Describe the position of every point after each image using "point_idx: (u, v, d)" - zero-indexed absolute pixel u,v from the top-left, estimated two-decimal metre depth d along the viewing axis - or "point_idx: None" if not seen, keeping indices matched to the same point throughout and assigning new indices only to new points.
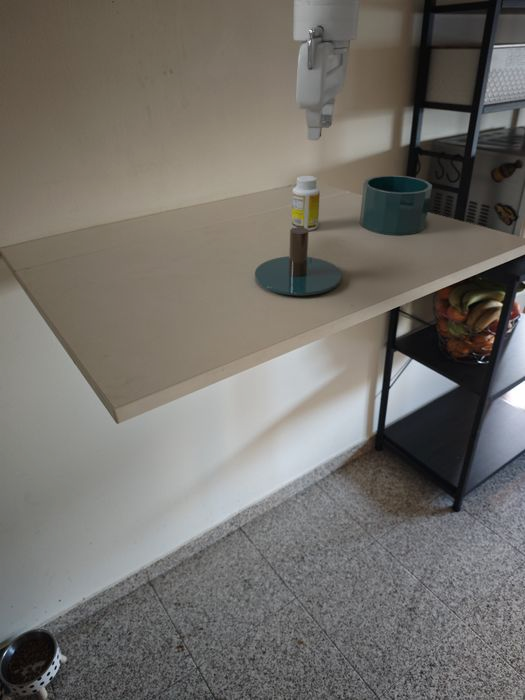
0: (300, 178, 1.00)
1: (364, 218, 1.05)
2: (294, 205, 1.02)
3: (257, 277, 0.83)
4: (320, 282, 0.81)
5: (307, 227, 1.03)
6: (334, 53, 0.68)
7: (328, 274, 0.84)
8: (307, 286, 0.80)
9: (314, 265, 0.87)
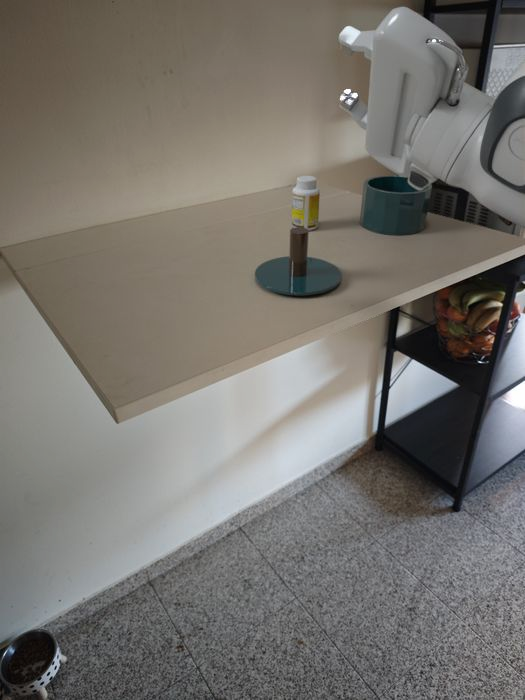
0: (300, 178, 1.00)
1: (364, 218, 1.05)
2: (294, 205, 1.02)
3: (257, 277, 0.83)
4: (320, 282, 0.81)
5: (307, 227, 1.03)
6: (415, 114, 0.51)
7: (328, 274, 0.84)
8: (307, 286, 0.80)
9: (314, 265, 0.87)
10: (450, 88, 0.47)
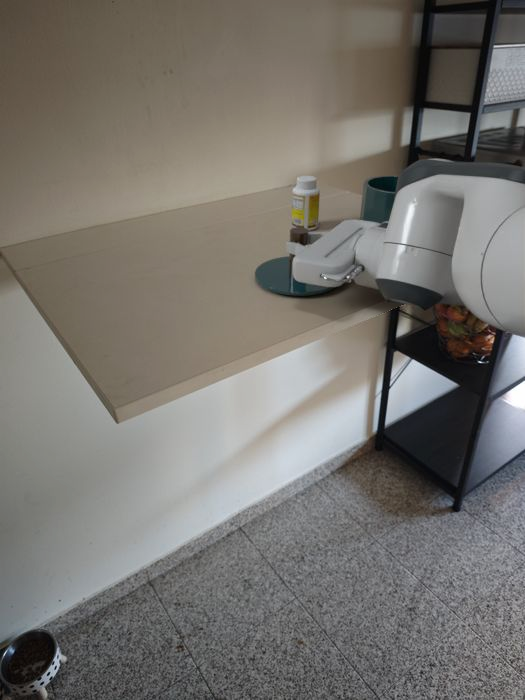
0: (300, 178, 1.00)
1: (364, 218, 1.05)
2: (294, 205, 1.02)
3: (257, 277, 0.83)
4: None
5: (307, 227, 1.03)
6: None
7: None
8: (307, 286, 0.80)
9: None
10: None
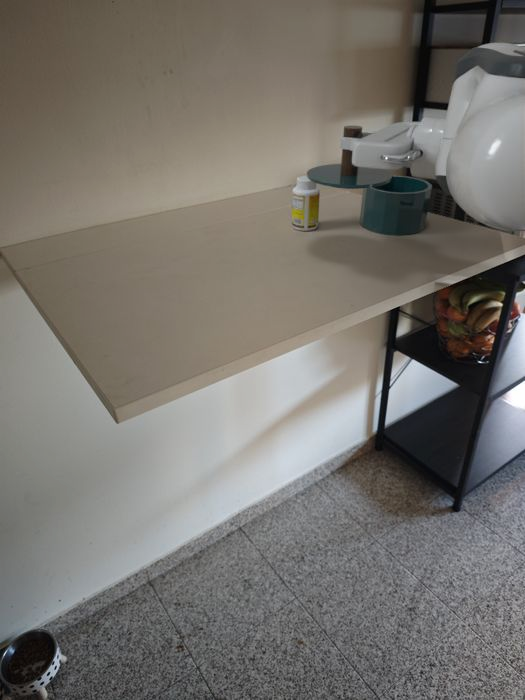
0: (300, 178, 1.00)
1: (364, 218, 1.05)
2: (294, 205, 1.02)
3: (310, 176, 0.85)
4: (373, 179, 0.83)
5: (307, 227, 1.03)
6: None
7: (379, 174, 0.86)
8: (361, 181, 0.82)
9: (363, 169, 0.89)
10: None
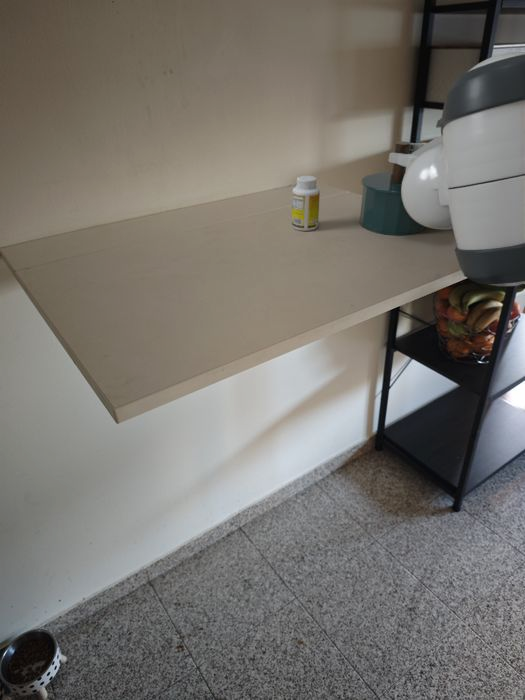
0: (300, 178, 1.00)
1: (364, 218, 1.05)
2: (294, 205, 1.02)
3: (365, 184, 1.01)
4: None
5: (307, 227, 1.03)
6: None
7: None
8: None
9: None
10: None
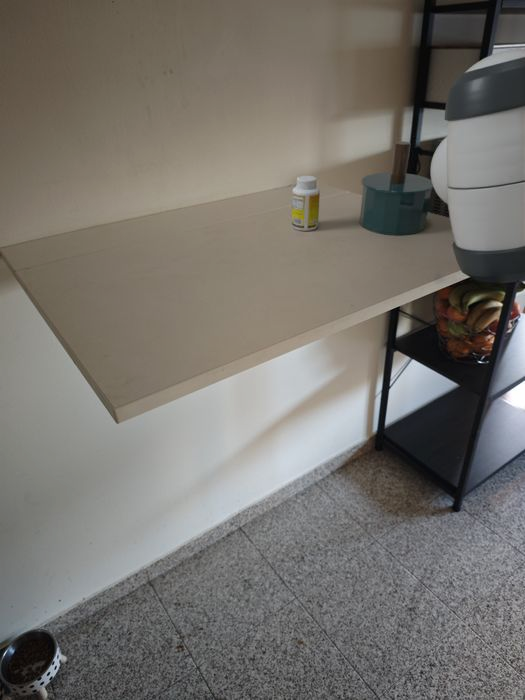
0: (300, 178, 1.00)
1: (364, 218, 1.05)
2: (294, 205, 1.02)
3: (365, 184, 1.01)
4: (419, 186, 0.99)
5: (307, 227, 1.03)
6: None
7: (423, 182, 1.02)
8: (409, 188, 0.98)
9: (408, 177, 1.05)
10: None
